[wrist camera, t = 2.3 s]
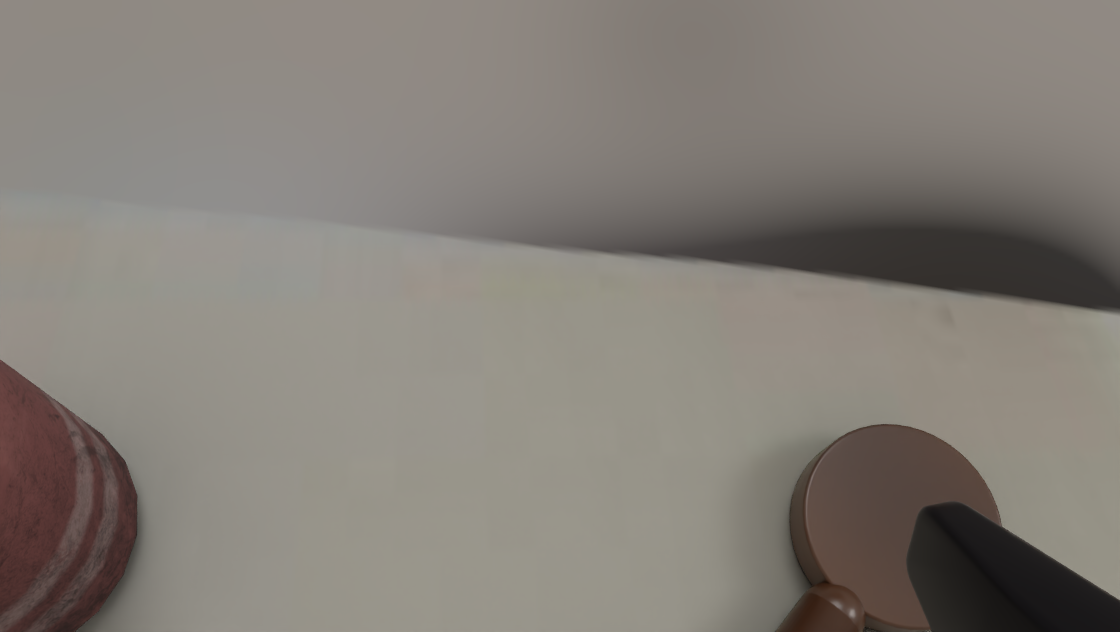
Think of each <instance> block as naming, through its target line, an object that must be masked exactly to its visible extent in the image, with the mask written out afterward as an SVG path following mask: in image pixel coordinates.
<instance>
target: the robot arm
mask: <svg viewBox="0 0 1120 632" xmlns="http://www.w3.org/2000/svg"><path fill="white" fill-rule="evenodd" d="M906 566H907V572H908V576H909V579H910V581H911V584H912V586H913V588H914V591H915V593H916V595H917V598H918V600H919V602H920V605H921V607H922V609H923V612H924V614H925V616H926V619H927V621H928V623H929V626H930V628H931V631H932V632H1120V600H1118V599H1117V598H1115V597H1114V596H1112V595H1110V594H1109V593H1107V592H1106V591H1104V590H1102V589H1101V588H1099V587H1098V586H1096V585H1094V584H1093V583H1091V582H1090V581H1088V580H1086V579H1085V578H1083V577H1082V576H1080V575H1078V574H1077V573H1075V572H1074V571H1072V570H1070V569H1069V568H1067V567H1066V566H1064V565H1062V564H1061V563H1059V562H1058V561H1056V560H1054V559H1053V558H1051V557H1050V556H1048V555H1046V554H1045V553H1043V552H1042V551H1040V550H1038V549H1037V548H1035V547H1034V546H1032V545H1030V544H1029V543H1027V542H1026V541H1024V540H1022V539H1021V538H1019V537H1018V536H1016V535H1014V534H1013V533H1011V532H1010V531H1008V530H1006V529H1005V528H1003V527H1002V526H1000V525H998V524H997V523H995V522H994V521H992V520H990V519H989V518H987V517H986V516H984V515H982V514H981V513H979V512H978V511H976V510H974V509H973V508H971V507H970V506H968V505H966V504H964V503H961V502H958V501H949V502H944V503H938V504H933V505H928V506H925V507H923V508H922V509H921V510H920V511H919V513H918V515H917V518H916V522H915V526H914V529H913V533H912V537H911V540H910V544H909V548H908V552H907V556H906Z"/></svg>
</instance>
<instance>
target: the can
mask: <svg viewBox="0 0 1120 632" xmlns="http://www.w3.org/2000/svg"><path fill="white" fill-rule="evenodd" d="M136 535H137V494H136V491H135V488H134V485H133V482H132V479H131V477H130V474H129V471H128V468H127V465H126V462H125V460H124V459H123V458H122V457H121V456H120V455H119V453H118V452H117V451H116V450H115V449H114V448H113V446H112V445H111V444H110V443H109V442H108V441H107V439H106V438H105V437H104V436H103V435H102V434H101V433H100V432H98V431H97V430H95V429H94V428H93V427H91V426H90V425H89V424H87V423H86V422H85V421H83V420H82V419H81V418H79V417H78V416H76V415H75V414H74V413H72V412H71V411H70V410H68V409H67V408H66V407H64V406H63V405H61V404H60V403H59V402H57V401H56V400H55V399H53V398H52V397H51V396H49V395H48V394H46V393H45V392H44V391H42V390H41V389H40V388H38V387H37V386H36V385H34V384H33V383H31V382H30V381H29V380H27V379H26V378H25V377H23V376H22V375H21V374H19V373H18V372H16V371H15V370H14V369H12V368H11V367H10V366H8V365H7V364H6V363H4V362H3V361H1V360H0V632H75V631H76V630H77V629H78V628H79V627H81V626H82V625H83V624H84V623H85V622H86V621H88V620H89V619H90V618H91V617H92V616H94V615H95V614H96V613H97V612H98V611H99V609H100V608H101V606H102V605H103V604H104V602H105V601H106V599H107V598H108V596H109V595H110V593H111V592H112V590H113V589H114V588H115V586H116V585H117V583H118V582H119V580H120V579H121V577H122V576H123V574H124V571H125V568H126V565H127V562H128V559H129V556H130V553H131V550H132V547H133V544H134V541H135V538H136Z"/></svg>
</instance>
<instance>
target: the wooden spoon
mask: <svg viewBox="0 0 1120 632" xmlns="http://www.w3.org/2000/svg"><path fill="white" fill-rule="evenodd" d="M949 501H958V502H961V503H964V504H966V505H968V506H970V507H971V508H973V509H974V510H976V511H978V512H979V513H981V514H982V515H984V516H986V517H987V518H989V519H990V520H992V521H994V522H995V523H997V524H998V525H1000V526H1002V524H1001V519H1000V515H999V512H998V509H997V505H996V503H995V501H994V498H993V496H992V494H991V492H990V490H989V488H988V486H987V485H986V483H985V481H984V480H983V478H982V477H981V475H980V474H979V473H978V471H977V470H976V469H975V468H974V467H973V465H972V464H971V463H970V462H969V461H968V460H967V459H966V458H965V457H964V456H963V455H962V454H961V453H959V452H958V451H957V450H956V449H955V448H953V447H952V446H950V445H949V444H948V443H946V442H944V441H943V440H941V439H939V438H937V437H936V436H934V435H931V434H929V433H927V432H924V431H922V430H918V429H915V428H912V427H908V426H901V425H892V424H881V425H871V426H867V427H863V428H859V429H856V430H854V431H851V432H849V433H847V434H845V435H843V436H842V437H840V438H838V439H837V440H836V441H834V442H833V443H832V444H830V445H829V446H828V447H827V448H825V449H824V450H823V451H821V452H820V453H819V454H818V455H816V456H815V457H814V459H813V460H812V461H811V462H810V463H809V464H808V465H807V467H806V468H805V470H804V471H803V473H802V474H801V476H800V478H799V480H798V482H797V484H796V487H795V490H794V494H793V497H792V503H791V509H790V528H791V536H792V541H793V546H794V549H795V552H796V555H797V558H798V561H799V563H800V565H801V567H802V569H803V571H804V573H805V575H806V576H807V578H808V580H809V581H810V583H811V584H812V587H811V588H809V589H808V590H807V591H806V592H805V593H804V595H803V596H802V597H801V599H800V600H799V601H798V603H797V604H796V605H795V607H794V608H793V609H792V611H791V612H790V613H789V615H788V616H787V617H786V619H785V620H784V621H783V623H782V624H781V625H780V626H779V628H778V629H777V630H776V632H863V630H864V627H867V628H870V629H873V630H877V631H880V632H923V631H928V630H931V628H930V626H929V623H928V621H927V619H926V616H925V614H924V612H923V609H922V607H921V605H920V602H919V600H918V598H917V595H916V593H915V591H914V588H913V586H912V584H911V581H910V579H909V576H908V572H907V566H906V556H907V552H908V548H909V544H910V540H911V537H912V533H913V529H914V526H915V522H916V518H917V515H918V513H919V511H920V510H921V509H922V508H923V507H925V506H928V505H933V504H938V503H944V502H949Z"/></svg>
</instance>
